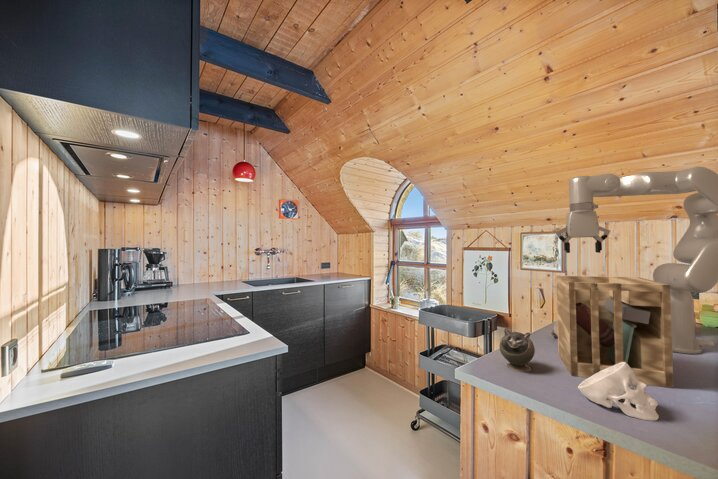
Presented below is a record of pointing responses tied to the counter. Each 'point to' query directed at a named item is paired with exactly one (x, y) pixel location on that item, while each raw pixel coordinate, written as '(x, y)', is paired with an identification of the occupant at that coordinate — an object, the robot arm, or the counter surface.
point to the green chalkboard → (627, 325)
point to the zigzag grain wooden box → (616, 326)
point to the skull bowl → (620, 391)
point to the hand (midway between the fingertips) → (582, 252)
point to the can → (585, 322)
